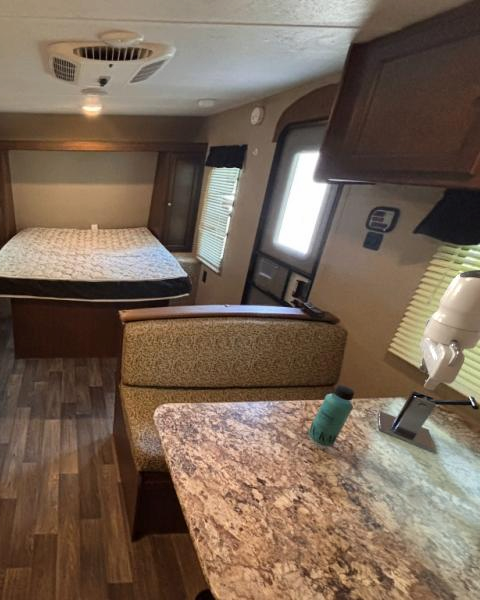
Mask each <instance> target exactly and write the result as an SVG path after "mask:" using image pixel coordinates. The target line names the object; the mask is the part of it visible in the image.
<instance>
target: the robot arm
mask: <svg viewBox="0 0 480 600" xmlns="http://www.w3.org/2000/svg"><path fill="white" fill-rule="evenodd" d="M479 341H480V269H475V270H474V269H473V270H467V271H463V272H461V273H459V274H458V275H456V277H454V278H453V280H452V281H451V282H450V284H449V285H448V286H447V288H446V290H445V292H444V293H443V294H442V296H441V298H440V300H439V306H438V308H437V309H436V311H435V312H434V313H433V314H432V315H431V317H429V318H428V319H427V320H426V322H425V327H424V330H423V335H422V339H421V341H420V344H419V349H420V352H421V354H422V356H421V360H420V365H418V371H419V372H420V373H424V374H428V378H427V379H425V381H424V382H423V388H424V389H425V390H429V391H434V390H435V389H436V388H437V387H438V385H440V384H441V383H443V384H447V385H451V384H453V383H454V382H455V380H456V379H457V377H458V375H459V373H460V371H461V369H462V367H463V365H464V362H465V357H466V356H465V354H464V351H465V350H471V349H475V348H476V346H477V344H478V342H479Z"/></svg>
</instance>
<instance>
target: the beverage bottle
mask: <svg viewBox="0 0 480 600" xmlns="http://www.w3.org/2000/svg"><path fill="white" fill-rule="evenodd" d="M354 395H355V391H354V390H353V389H351V388H350V387H348V386H346V385H342V384H339V385H337V386H335V389H334V390H333V393H328V394H326V395H325V397H324V400H323V401H322V404H321V406H320V407H319V408H318V410H317V412H316V414H315V416H314V418H313V421H312V422H311V424H310V426H309V429H308V436H309V438H310V439H311V440H312V441H314V442H315V443H316V444H318V445H321V446H324V447H332V446H333V445H334V444H335V443H336V441H337V440H338V438H339V436H340V435H341V432H342V430H343V427H344V426H345V424H346V422H347V419H348V418H349V416H350V414H351V412H352V411H353V410H354V405H353V403H352V402H351V401H352V400H353V398H354Z"/></svg>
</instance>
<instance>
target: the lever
mask: <svg viewBox="0 0 480 600" xmlns="http://www.w3.org/2000/svg"><path fill="white" fill-rule="evenodd" d="M413 397H418V398H421V399H424V400H427V401H430V402H433V403H435V404H436V406H471V408H472V409H474V410H479V409H480V406H479V404H478V402H477V400H476V398H475V397H474V396H468V397H467V399H433V400H428V399H427V397H425V396H413Z"/></svg>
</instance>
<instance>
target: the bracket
mask: <svg viewBox="0 0 480 600" xmlns="http://www.w3.org/2000/svg"><path fill="white" fill-rule="evenodd" d="M413 396H425V397H427V399H428V400H435V397H434V396H433V395H430V394H428V393H424V392H421V391H418V390H415V389H413V390H412V391H411V393H410V394H409V396H408V397H407V399H406V401H405V402H404V404H403V406H402V408H401V409H400V411H399V413H398V414H397V416H395V415H392V414H389V413H387V412H384V411H381V410H378V412H377V424H378V425H377V427H378V432H379V431H380V432H381V433H384V434H386V433H387V434H386V435H389V436H392V437H394V438H396V439H398V440H401V441H403V442H406V443H408V444H411V445H414V446H416V447H418V448H420V449H423V450H426V451H428V452H430V453H432V452H433V451H434V450H435V449H434V445H433V441H432V437H431V432H430V430H429V429H428V428H426V427H423V425H424V424H425V423H426V421H427V420H428V418H429V417H430V415H431V414H432V412H433V410H434V409H435V407H436V406H437V405H436V404H435V403H433V402H430V401H427V400H424V399H421V398H418V397H413Z"/></svg>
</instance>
